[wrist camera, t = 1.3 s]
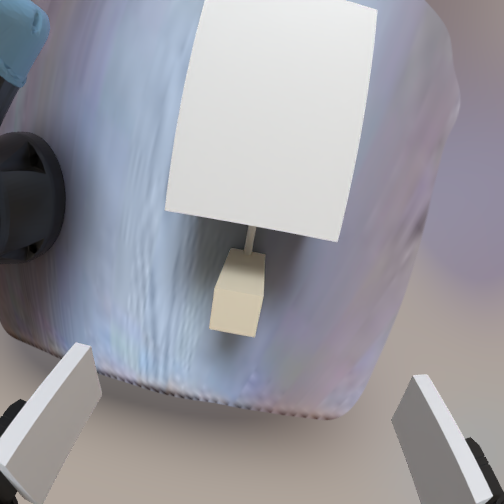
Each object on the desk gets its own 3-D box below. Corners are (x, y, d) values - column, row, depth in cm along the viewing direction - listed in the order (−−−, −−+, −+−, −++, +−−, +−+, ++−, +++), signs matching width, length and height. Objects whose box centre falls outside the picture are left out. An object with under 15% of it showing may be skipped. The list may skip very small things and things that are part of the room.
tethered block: (211, 276, 30) (189, 324, 21) (247, 62, 24) (237, 22, 15) (273, 288, 30) (274, 340, 21) (315, 74, 24) (336, 40, 15)
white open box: (200, 191, 28) (164, 210, 18) (229, 32, 23) (211, -21, 14) (314, 212, 28) (337, 242, 18) (343, 52, 23) (377, 8, 14)
